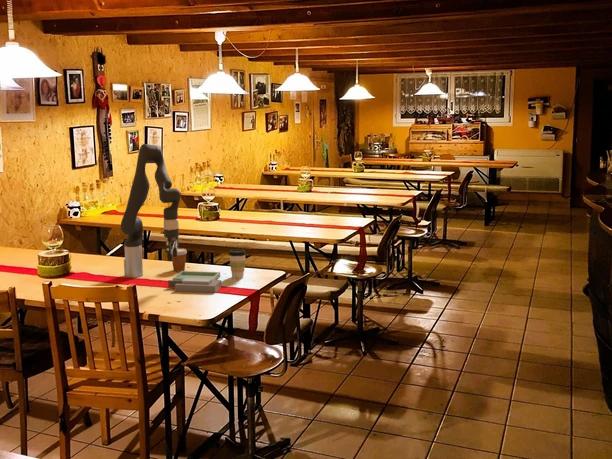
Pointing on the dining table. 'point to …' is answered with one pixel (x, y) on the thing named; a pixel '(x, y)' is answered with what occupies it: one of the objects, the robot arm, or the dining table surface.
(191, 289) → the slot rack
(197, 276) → the tray
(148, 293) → the dining table surface
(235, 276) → the coffee cup
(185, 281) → the tall grey bar
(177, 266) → the disposable coffee cup
